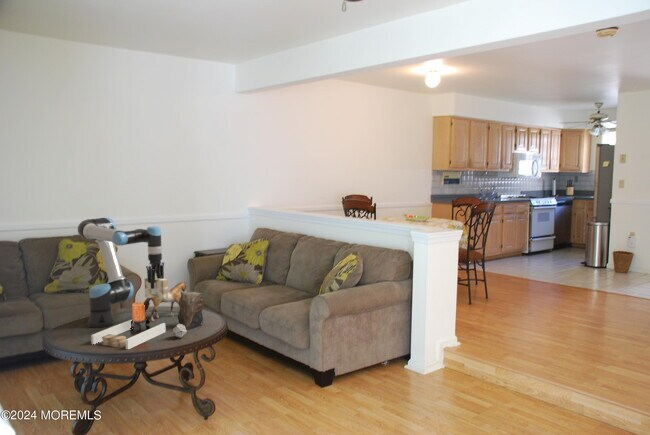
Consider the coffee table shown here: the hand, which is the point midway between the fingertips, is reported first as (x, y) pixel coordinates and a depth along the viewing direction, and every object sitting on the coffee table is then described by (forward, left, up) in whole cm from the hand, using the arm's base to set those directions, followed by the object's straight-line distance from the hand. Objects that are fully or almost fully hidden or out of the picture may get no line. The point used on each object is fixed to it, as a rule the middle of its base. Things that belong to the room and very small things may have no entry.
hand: (156, 292), depth 314 cm
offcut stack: (-2, -33, -21) cm, 39 cm away
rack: (-2, -21, -21) cm, 30 cm away
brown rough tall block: (+17, +7, -21) cm, 28 cm away
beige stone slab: (0, 0, -3) cm, 3 cm away
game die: (+24, -12, -21) cm, 34 cm away
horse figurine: (-10, +19, -21) cm, 30 cm away
